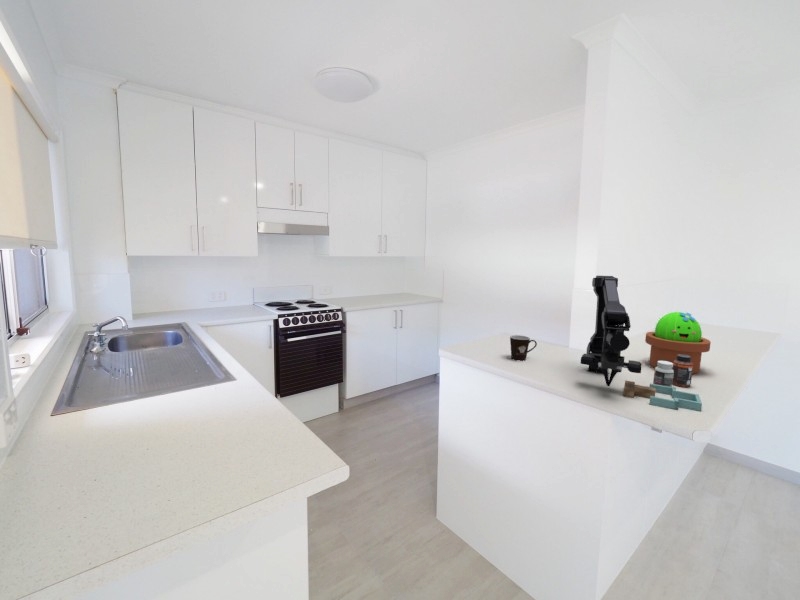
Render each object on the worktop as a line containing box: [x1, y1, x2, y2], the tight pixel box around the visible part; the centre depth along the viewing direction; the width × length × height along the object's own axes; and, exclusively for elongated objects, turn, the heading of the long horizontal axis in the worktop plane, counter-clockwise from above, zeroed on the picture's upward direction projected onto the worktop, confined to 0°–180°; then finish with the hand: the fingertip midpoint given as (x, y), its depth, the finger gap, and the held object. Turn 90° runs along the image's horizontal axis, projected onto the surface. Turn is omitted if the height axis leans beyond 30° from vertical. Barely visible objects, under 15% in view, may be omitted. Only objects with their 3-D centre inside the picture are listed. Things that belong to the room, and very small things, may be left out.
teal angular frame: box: [648, 382, 703, 412], centre depth 123 cm, size 14×15×2 cm
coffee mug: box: [509, 334, 538, 362], centre depth 169 cm, size 12×9×10 cm
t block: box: [622, 379, 656, 399], centre depth 129 cm, size 9×9×3 cm
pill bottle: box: [652, 361, 674, 387], centre depth 134 cm, size 6×6×10 cm
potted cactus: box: [644, 311, 711, 375], centre depth 158 cm, size 22×22×25 cm
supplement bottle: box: [672, 354, 693, 388], centre depth 138 cm, size 6×6×11 cm
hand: (608, 385), depth 134 cm, fingers closed
